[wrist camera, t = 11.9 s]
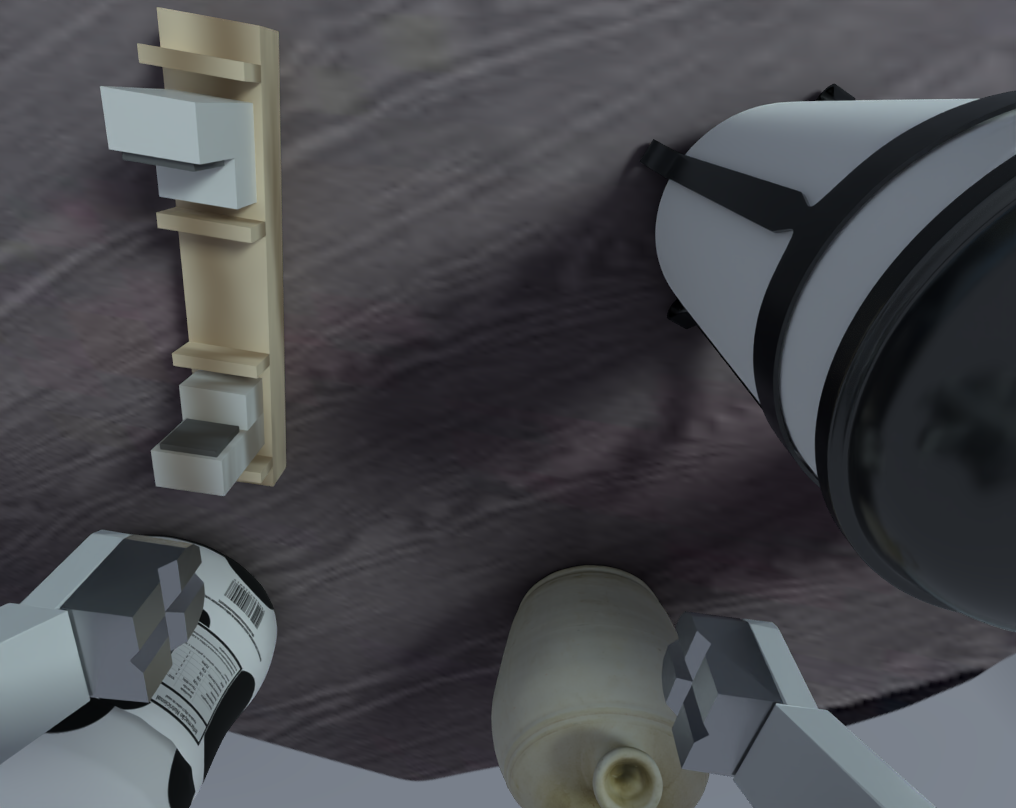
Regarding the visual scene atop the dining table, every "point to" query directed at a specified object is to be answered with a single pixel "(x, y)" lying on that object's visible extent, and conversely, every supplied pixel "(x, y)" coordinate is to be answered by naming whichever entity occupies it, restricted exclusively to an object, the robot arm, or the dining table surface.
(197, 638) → the milk container
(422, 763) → the dining table surface
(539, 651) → the jug
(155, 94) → the grey block
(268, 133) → the rail
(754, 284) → the coffee press
